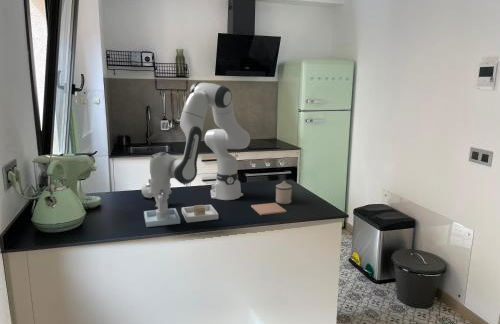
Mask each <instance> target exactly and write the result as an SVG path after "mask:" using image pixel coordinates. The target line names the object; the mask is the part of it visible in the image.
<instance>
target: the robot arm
mask: <svg viewBox="0 0 500 324" xmlns="http://www.w3.org/2000/svg"><path fill="white" fill-rule="evenodd" d="M188 93H189V94H188V95H189V96H188V97H187V99H186V101H185V103H184V105H183V107H182V112H181V116H180V120H179V121H180V122H179V127H180V129H181V131H182V132H183V134H184V136H185V140H186V142H185V147H184V152H183V157H182V158H180V157H176V156H174V155H171V154H170V153H167V152H165V151H159V152H157V153H154V154H152V155H151V156H150V160H149V174H150V184H151V192H152V193H154V196H155V197H154V200H155V203H156V204H157V206H158V207H157V209H159V212H160V218H161V219H163V218H165V213H166V212H168V209H169V208H168V206H167V205H168V199H167V196H166V195H167V194H168V193H169V192H170V189H171V187H170V183H171V179H175V180H177V182H179V183H180V184H182V185H187V184H191V183H192V182H193V181H194V180H195V179H196V177H197V175H198V166H197V165H198V164H197V163H198V157H199V152H200V147H201V144H202V143H201V142H202V136H203V135H202V134H203V128H204V123H205V121H206V116H207V113H208V107H211V108H212V109H211V110H212V116H213V121H214V123H215V125H216V126H217V127H218V128H213V129H208V130H207V131H206V132H205V134H204V143H205V145H206V146H207V147H209V149H210V150H211V151H212V152H213V153H214V156H215V158H216V164H217V166H216V167H217V172H216V179H215V181H214V182H213V183H214V184H211V189H210V197H211V199H214V200H215V199H216V200H223V201H232V200H236V199H240V197H243V196H244V193H242V191H241V181H240V180H239V173H238V160H237V158H236V157H235V156H234V155H232V154H230V153H229V151H228V150H242V149H246V148H248V147H249V145H250V142H251V136H250V133H249V132H248V131H247V130H245V129H244V128H242V126H240V124H238V121H237V120H236V116H235V111H234V103H233V100H232V99H233V94H232V91H231V90H230V88H229V87H227V86H224V85H220V84H217V83H211V82H203V81H195V82H193V83H192V85H191V86H190V87H189V92H188Z"/></svg>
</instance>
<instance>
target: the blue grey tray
mask: <svg viewBox="0 0 500 324" xmlns="http://www.w3.org/2000/svg"><path fill="white" fill-rule="evenodd" d="M143 217H144V222H145V226H146V228H151V227H160V226H168V225H169V226H170V225H176V224H177V225H178V224H179V225H180V224H181V217H180V215H179V213H178V211H177V209H176V207H175V208H173V207H172V208H168V212H167V219H162V220H157V219H156V209H154V210H145V211H144V210H143Z"/></svg>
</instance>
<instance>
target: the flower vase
mask: <svg viewBox="0 0 500 324" xmlns="http://www.w3.org/2000/svg"><path fill="white" fill-rule="evenodd" d="M150 180H151V178H149V179H148V181H146V182H144V184H143V185H142V186H141V195H143V197H145V198H147V199H153V198H155V196H154V193H152V192H151V184H150ZM171 186H172V184H171V182H170V191H169V192H168V194H167V195H166V196H167V200H168V199H169V197H170V195H171V194H172V192H173V190H171V189H172V188H171ZM152 197H153V198H152ZM167 206H169V204H167ZM154 208H158V206H157V203H156V204H155V206H154Z"/></svg>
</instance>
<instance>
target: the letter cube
mask: <svg viewBox="0 0 500 324" xmlns="http://www.w3.org/2000/svg"><path fill="white" fill-rule="evenodd" d="M155 210H156V219H157V220H162V219H161V218H160V212H159V209H158V208H157V209H155ZM163 219H167V212H166V213H165V218H163Z"/></svg>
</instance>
